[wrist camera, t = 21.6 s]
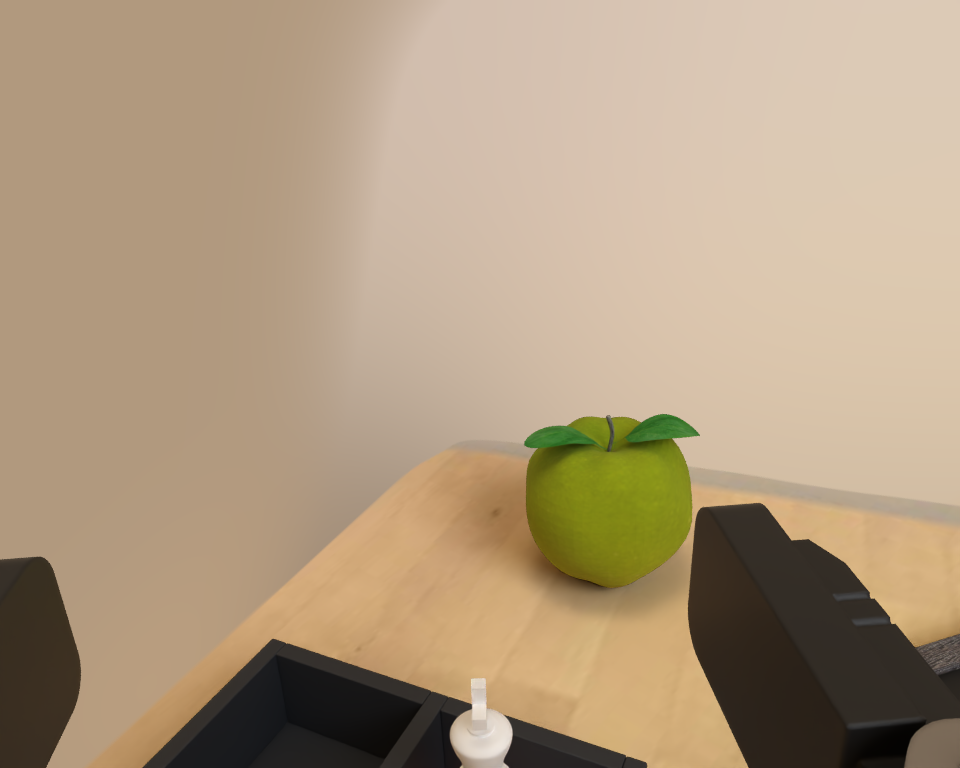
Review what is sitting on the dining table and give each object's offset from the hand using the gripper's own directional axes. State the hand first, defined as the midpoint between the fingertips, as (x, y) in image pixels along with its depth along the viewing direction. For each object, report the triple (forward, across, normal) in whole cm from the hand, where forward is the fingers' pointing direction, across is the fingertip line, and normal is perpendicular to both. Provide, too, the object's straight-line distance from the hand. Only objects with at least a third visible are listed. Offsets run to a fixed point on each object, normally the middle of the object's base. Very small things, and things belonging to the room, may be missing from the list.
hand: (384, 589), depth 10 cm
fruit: (+30, -10, +23) cm, 40 cm away
